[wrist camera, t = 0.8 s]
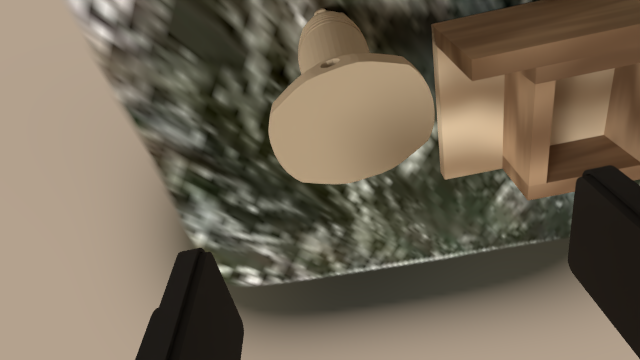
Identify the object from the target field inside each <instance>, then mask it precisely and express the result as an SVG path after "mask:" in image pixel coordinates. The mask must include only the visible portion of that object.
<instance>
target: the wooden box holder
mask: <svg viewBox="0 0 640 360" xmlns="http://www.w3.org/2000/svg"><path fill="white" fill-rule="evenodd" d="M431 28H432V44H433V59H434V75H435V90H436V106H437V121H438V137H439V152H440V168H441V173H442V175H443V177H444V179H450V178H456V177H461V176H466V175H471V174H476V173H481V172H486V171H491V170H496V169H502V168H503V169H504V171H505V172H506V173H507V175H508V176H509V177H510V178H511V180H512V181H513V182H514V183H515V185H516V186H517V187H518V189H519V190H520V191H521V192H522V194H523V195H524V196H525V197H526V199H527V200H532V199H538V198H543V197H548V196H554V195H559V194H564V193H569V192H575V186H576V180H577V179H578V178H579V177H582V174H583V172H584V171H585V170H588V169H593V168H598V167H603V166H608V165H612V166H614V167H616V168H617V169H619V170H620V171H621V172H623V173H624V174H625V175H626V176H628V177H629V178H630V179H632V180H638V179H640V0H539V1H534V2H530V3H525V4H521V5H516V6H511V7H507V8H502V9H498V10H493V11H489V12H484V13H480V14H475V15H470V16H466V17H461V18H457V19H452V20H448V21H443V22H439V23H434V24H431Z"/></svg>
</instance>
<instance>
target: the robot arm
mask: <svg viewBox="0 0 640 360" xmlns="http://www.w3.org/2000/svg"><path fill="white" fill-rule="evenodd" d="M568 263H569V266H570V269H571V271H572V273H573V274H574V275H575V277H576V278H577V279H578V281H579V282H580V283H581V284H582V286H583V287H584V288H585V290H586V291H587V292H588V293H589V295H590V296H591V297H592V298H593V300H594V301H595V302H596V303H597V305H598V306H599V307H600V309H601V310H602V311H603V312H604V314H605V315H606V316H607V318H608V319H609V320H610V321H611V323H612V324H613V325H614V327H615V328H616V329H617V330H618V332H619V333H620V334H621V336H622V337H623V338H624V339H625V341H626V342H627V343H628V344H629V346H630V347H631V348H632V350H633V351H634V352H635V353H636V355H637V356H638V357H639V359H640V186H639V185H638V184H637V183H635V182H634V181H633V180H632V179H630V178H629V177H628V176H626V175H625V174H624V173H623V172H621V171H620V170H619V169H617V168H616V167H614V166H612V165H608V166H603V167H598V168H593V169H588V170H585V171H584V172H583V174H582V177H579V178H578V179H577V180H576V186H575V195H574V205H573V214H572V224H571V233H570V244H569V253H568ZM243 336H244V328H243V323H242V320H241V317H240V315H239V313H238V311H237V309H236V306H235V304H234V302H233V299H232V298H231V295H230V293H229V291H228V288H227V286H226V284H225V282H224V279H223V277H222V275H221V273H220V270H219V268H218V266H217V264H216V261H215V259H214V257H213V255H212V253H211V252H205V251H204V250H203V249H202V248H197V249H192V250H187V251H182V252H180V253H178V255H177V258H176V261H175V263H174V267H173V269H172V272H171V275H170V278H169V280H168V283H167V286H166V289H165V292H164V295H163V298H162V300H161V303H160V306H159V308H157V309H156V310H155V311H154V312H153V314H152V316H151V318H150V321H149V324H148V326H147V329H146V332H145V335H144V337H143V340H142V343H141V346H140V348H139V351H138V354H137V356H136V359H135V360H241V352H242V344H243Z"/></svg>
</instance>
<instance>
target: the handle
mask: <svg viewBox="0 0 640 360" xmlns="http://www.w3.org/2000/svg"><path fill="white" fill-rule="evenodd" d="M298 59H299V66H300V71H301V76H299V77H298V78H297V79H296V80H295V81H294V82H293V83H292V84H291V85H289V86H288V87H287V88H286V90H285V91H284V92H283V93H282V94H281V95H280V96H279V97H278V98H277V99H276V100H275V102H274V103H273V104H272V108H271V113H270V120H269V137H270V143H271V146H272V148H273V151H274V154H275V156H276V157H277V159H278V161H279V162H280V164H281V165H282V167H283V168H284V169H285V170H286V171H287V172H288V173H289V174H290V175H292V176H293V177H294V178H296V179H297V180H299V181H301V182H306V183H320V184H346V183H351V182H355V181H359V180H362V179H365V178H368V177H371V176H374V175H377V174H380V173H383V172H385V171H388V170H390V169H392V168H394V167H395V166H397V165H398V164H400V163H401V162H403V161H404V160H405V159H406V158H408V157H409V156H410V155H411V154H413V153H414V152H415V151H416V150H417V149H419V148H420V147H421V146H422V145H423V144H425V143H426V142H427V141H428V139H429V137H430V135H431V132H432V129H433V125H434V114H435V111H434V104H433V98H432V95H431V92H430V89H429V87H428V85H427V83H426V82H425V80H424V78H423V77H422V75H421V74H420V73H419V71H418V70H417V69H416V68H415V67H414V66H413V65H412V64H411V63H410V62H409V61H407V60H406V59H405V58H404V57H402V56H395V55H387V54H376V53H370V52H369V49H368V45H367V42H366V40H365V38H364V36H363V34H362V32H361V31H360V29H359V28H358V27H357V26H356V24H355V23H354V22H353V21H352V20H351V19H349V18H348V17H347V16H346V15H345V14H344V13H342V12H341V13H338V12H334V11H327V10H326V9H319V10H317V11H316V12H315V14H314V17H312V18H311V19H310V20H309V21H308V23H307V24H306V25H305V27H304V28H303V30H302V34H301V37H300V41H299V46H298Z"/></svg>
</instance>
